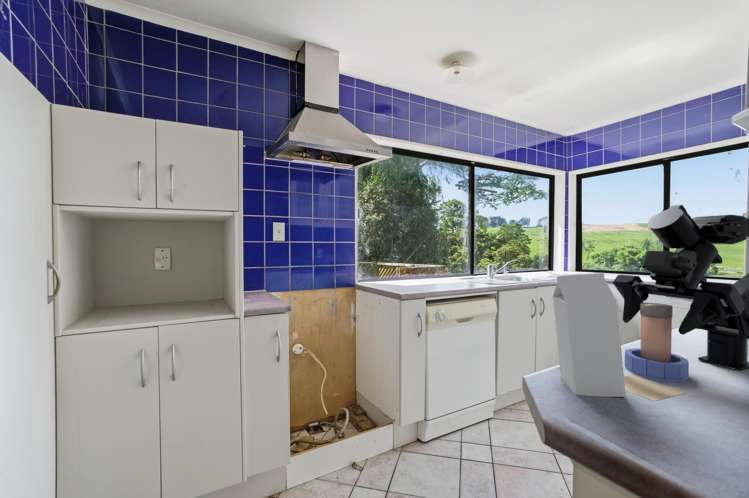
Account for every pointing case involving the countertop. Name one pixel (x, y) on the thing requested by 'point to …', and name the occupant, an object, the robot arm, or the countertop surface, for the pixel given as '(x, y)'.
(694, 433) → the countertop surface
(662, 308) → the spice jar
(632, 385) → the cork mat
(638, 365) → the bowl
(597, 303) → the milk carton
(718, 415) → the countertop surface
